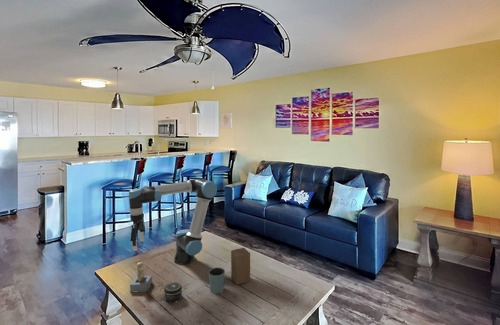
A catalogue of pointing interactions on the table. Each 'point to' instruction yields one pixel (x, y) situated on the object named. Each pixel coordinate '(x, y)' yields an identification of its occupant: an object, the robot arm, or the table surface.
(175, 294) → the jar
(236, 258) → the wooden block
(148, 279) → the socket
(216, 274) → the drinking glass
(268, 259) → the table surface
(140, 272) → the peg
